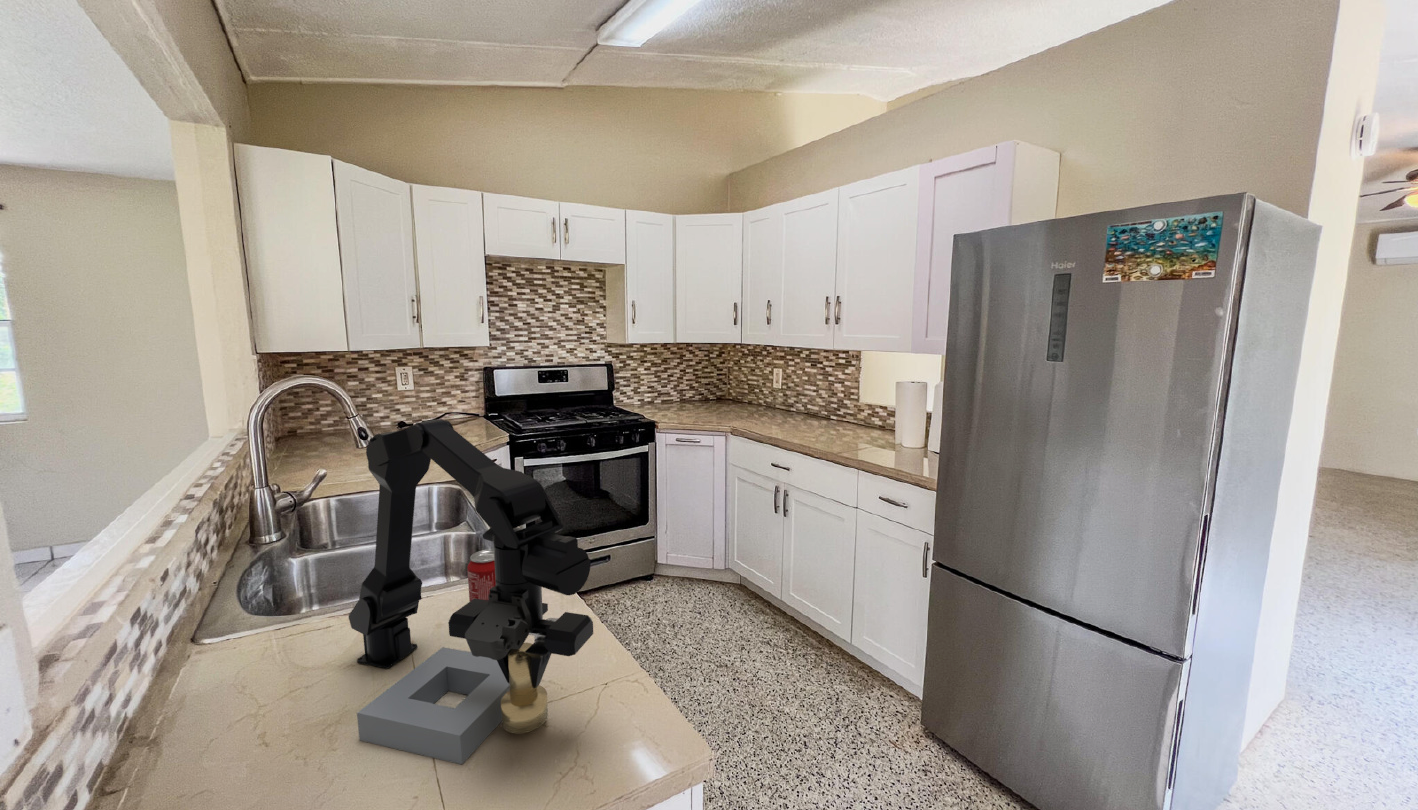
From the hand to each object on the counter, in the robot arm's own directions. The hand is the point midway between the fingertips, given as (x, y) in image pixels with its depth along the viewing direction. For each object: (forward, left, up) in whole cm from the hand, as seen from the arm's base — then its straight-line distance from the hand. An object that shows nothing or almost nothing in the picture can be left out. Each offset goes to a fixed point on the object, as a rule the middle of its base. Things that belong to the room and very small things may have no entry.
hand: (523, 683), depth 77 cm
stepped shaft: (0, 0, -5) cm, 5 cm away
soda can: (-24, +25, -7) cm, 35 cm away
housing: (-12, 0, -6) cm, 14 cm away
